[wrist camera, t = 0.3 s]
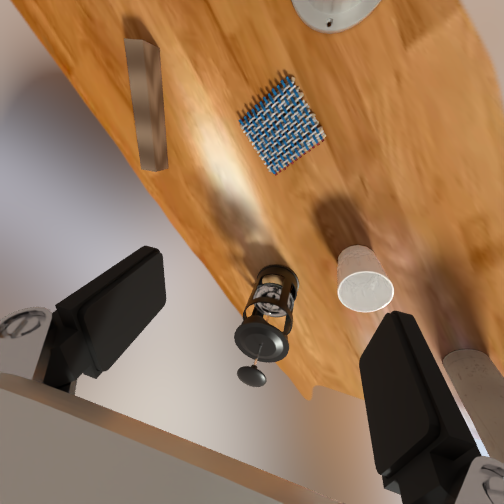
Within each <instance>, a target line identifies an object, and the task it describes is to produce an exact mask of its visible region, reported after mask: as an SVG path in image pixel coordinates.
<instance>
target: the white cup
mask: <svg viewBox="0 0 504 504" xmlns="http://www.w3.org/2000/svg"><path fill="white" fill-rule="evenodd" d="M337 288H338V297H339V299H340V301H341V302H342V303H343V304H344V305H345V306H346V307H348V308H349V309H352V310H354V311H358V312H372V311H376V310H379V309H381V308H383V307H385V306H386V305H387V304H388V303H389V302H390V301H391V300H392V298H393V295H394V287H393V285H392V283H391V281H390V279H389V277H388V275H387V274H386V272H385V270H384V268H383V266H382V265H381V263H380V261H379V260H378V259H377V257H376V256H375V254H374V252H373V251H372V250H371V249H369V248H368V247H366V246H361V245H355V246H349V247H348V248H346V249H344V250H343V251H342V252H341V254H340V255H339V257H338V267H337Z"/></svg>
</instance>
